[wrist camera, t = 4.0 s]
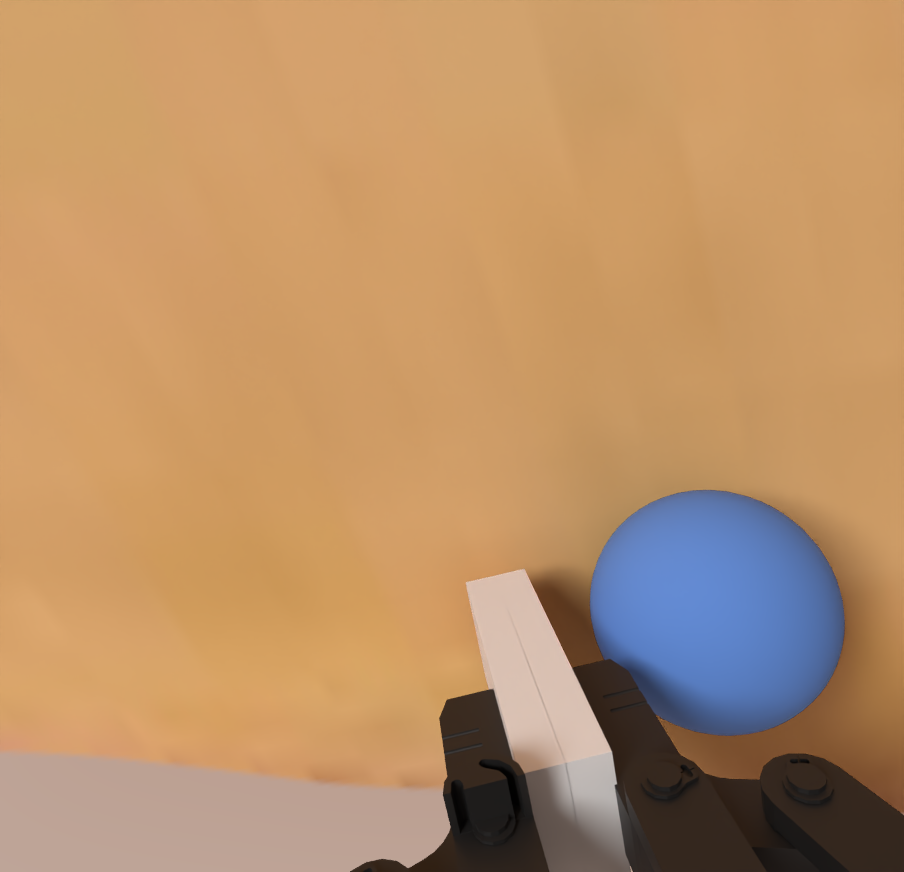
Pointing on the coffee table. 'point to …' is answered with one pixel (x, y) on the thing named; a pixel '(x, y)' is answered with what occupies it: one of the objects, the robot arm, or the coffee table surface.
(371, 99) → the coffee table surface
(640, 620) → the ball
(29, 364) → the coffee table surface
